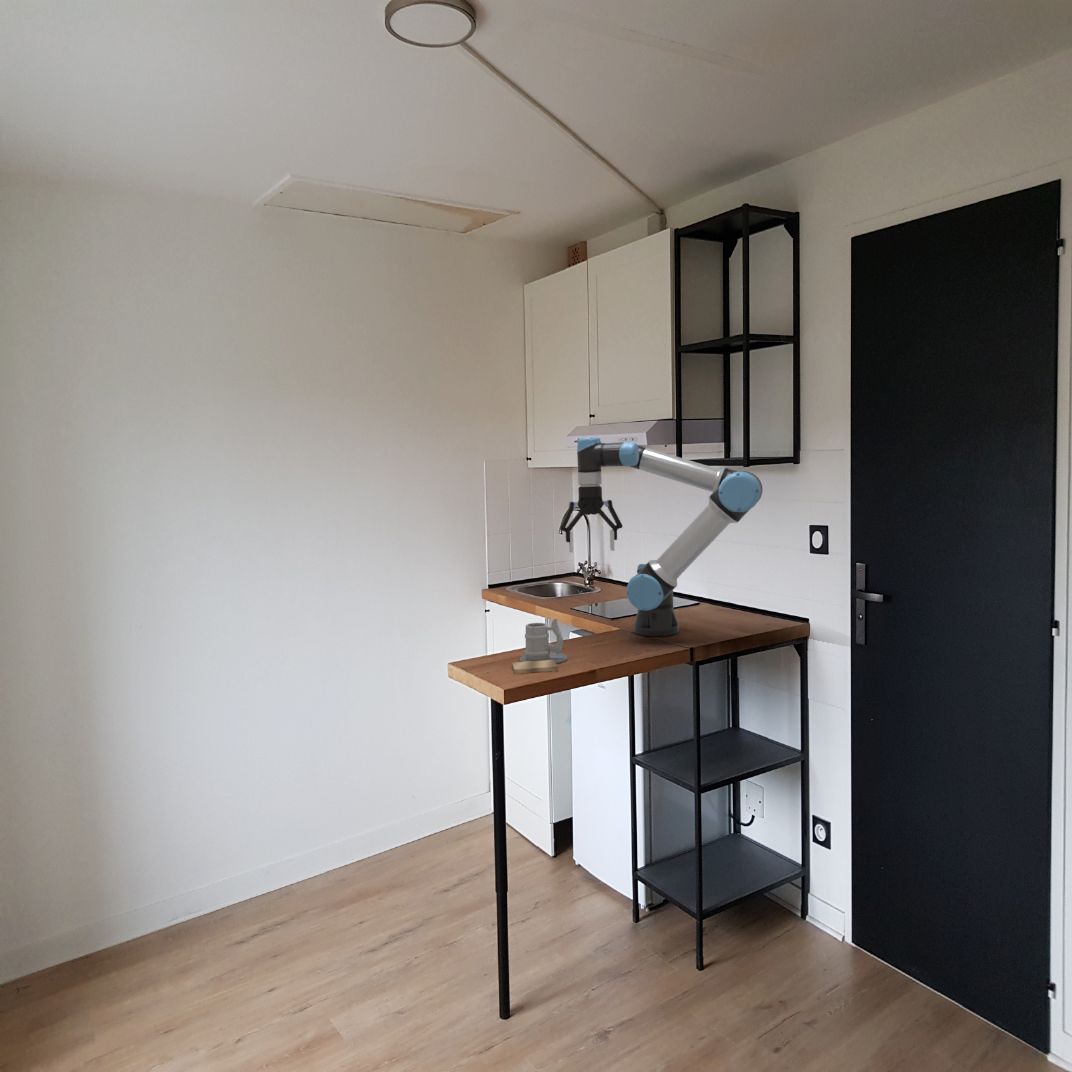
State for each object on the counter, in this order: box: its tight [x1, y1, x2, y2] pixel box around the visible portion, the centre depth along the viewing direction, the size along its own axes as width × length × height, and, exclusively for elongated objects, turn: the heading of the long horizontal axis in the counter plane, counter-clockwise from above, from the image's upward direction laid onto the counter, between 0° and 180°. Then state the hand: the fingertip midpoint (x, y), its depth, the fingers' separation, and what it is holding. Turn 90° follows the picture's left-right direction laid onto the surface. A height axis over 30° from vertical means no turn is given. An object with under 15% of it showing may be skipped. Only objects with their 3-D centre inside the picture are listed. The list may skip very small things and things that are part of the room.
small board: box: [511, 660, 559, 675], centre depth 227 cm, size 12×8×1 cm, turn 97°
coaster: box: [519, 651, 568, 665], centre depth 237 cm, size 14×14×1 cm
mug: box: [524, 617, 564, 660], centre depth 236 cm, size 8×12×12 cm, turn 73°
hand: (591, 551), depth 260 cm, fingers open, 13 cm apart
